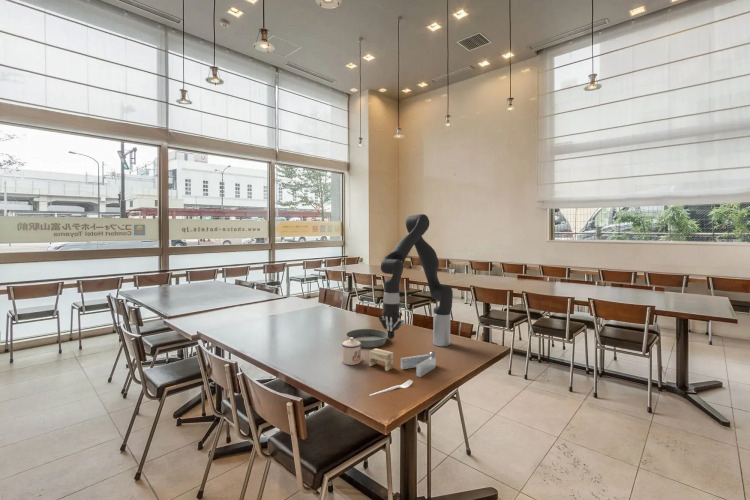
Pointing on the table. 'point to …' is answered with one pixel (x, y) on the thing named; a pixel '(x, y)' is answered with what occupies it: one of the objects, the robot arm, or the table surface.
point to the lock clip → (381, 358)
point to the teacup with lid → (351, 352)
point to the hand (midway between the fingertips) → (390, 338)
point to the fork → (395, 387)
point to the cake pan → (374, 337)
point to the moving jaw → (414, 360)
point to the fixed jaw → (425, 366)
